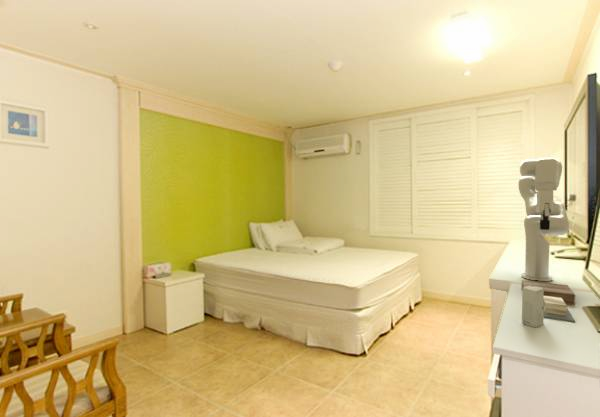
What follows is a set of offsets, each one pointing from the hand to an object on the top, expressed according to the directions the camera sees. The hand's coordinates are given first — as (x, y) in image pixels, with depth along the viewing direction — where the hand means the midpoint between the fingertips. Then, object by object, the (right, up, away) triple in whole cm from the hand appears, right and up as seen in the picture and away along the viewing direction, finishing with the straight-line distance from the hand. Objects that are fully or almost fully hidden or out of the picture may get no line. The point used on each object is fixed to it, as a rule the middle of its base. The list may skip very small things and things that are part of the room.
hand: (544, 229), depth 141 cm
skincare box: (-29, -30, -32) cm, 52 cm away
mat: (-14, -29, -21) cm, 38 cm away
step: (-4, -28, -6) cm, 29 cm away
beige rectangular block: (-14, -25, -22) cm, 36 cm away
